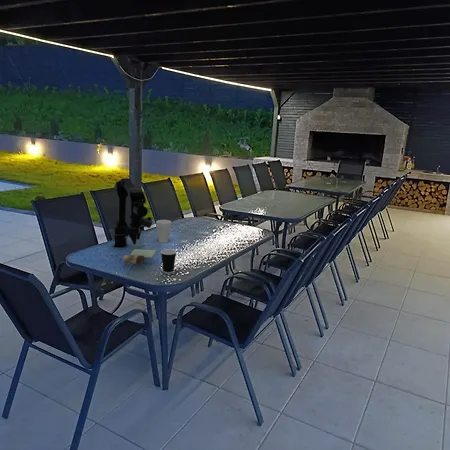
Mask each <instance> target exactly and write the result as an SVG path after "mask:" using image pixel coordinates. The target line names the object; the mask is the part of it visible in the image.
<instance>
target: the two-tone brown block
mask: <svg viewBox="0 0 450 450" xmlns="http://www.w3.org/2000/svg"><path fill="white" fill-rule="evenodd" d="M144 261H145V258H144V256H137V255H130V254H125V255H124V256H123V258H122V263H123V264H135V265H137V264H138V265H142V264H143V262H144Z"/></svg>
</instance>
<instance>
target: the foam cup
mask: <svg viewBox="0 0 450 450" xmlns="http://www.w3.org/2000/svg"><path fill="white" fill-rule="evenodd" d="M155 224H156V231H157V238H158V243H163V244H164V243H165V244H166V243H168V242H169V241H170V234H171V227H172V221H171V220H170V219H169V220H168V219H159V220H156V222H155Z"/></svg>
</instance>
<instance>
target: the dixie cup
mask: <svg viewBox="0 0 450 450" xmlns="http://www.w3.org/2000/svg"><path fill="white" fill-rule="evenodd" d="M160 254H161V255H160V256H161V263H162V270H163V274H166V275H170V274H173V273H174V271H175V263H176V255H177V251H176V250H175V249H166V248H165V249H161V250H160Z"/></svg>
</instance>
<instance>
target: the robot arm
mask: <svg viewBox="0 0 450 450" xmlns="http://www.w3.org/2000/svg"><path fill="white" fill-rule="evenodd" d="M113 187H114V193H115V194H116V196H117V215H116V216H117V219H116V221H115V223H114V227H112V228H113V229H112V231H111V233H112V235H111V236H112V237H113V238H114V245H113V247H115V248H125V247H126V246H127V245H128V238H127V237H128V236H129V238H130V240H131V242H132V244H133V245H136V244H137V240H139V241H140V238H141V234H142V230H143V229H144V228H145V227H146V228H148V229H150V228H152V225H153V222H154V221H153V220H152V217H150V216H148V217H146V216H147V215H148V213H149V211H148V208H147V207H146V206H145V204H146V203H147V202H146V201H147V199H146V195H145V193H144V191H143V190H142V189H141V188H139V187H136V186H135V184H134V183H133V181H132V180H131V178H129V177H128V178H127V177H126V178H120V180H118V181H116V182H115V184H114V186H113ZM127 198H128V201H129V203H130V214H129V219H130V223H129V225H128V223H127V222H126V214H127V212H126V210H127Z"/></svg>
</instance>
